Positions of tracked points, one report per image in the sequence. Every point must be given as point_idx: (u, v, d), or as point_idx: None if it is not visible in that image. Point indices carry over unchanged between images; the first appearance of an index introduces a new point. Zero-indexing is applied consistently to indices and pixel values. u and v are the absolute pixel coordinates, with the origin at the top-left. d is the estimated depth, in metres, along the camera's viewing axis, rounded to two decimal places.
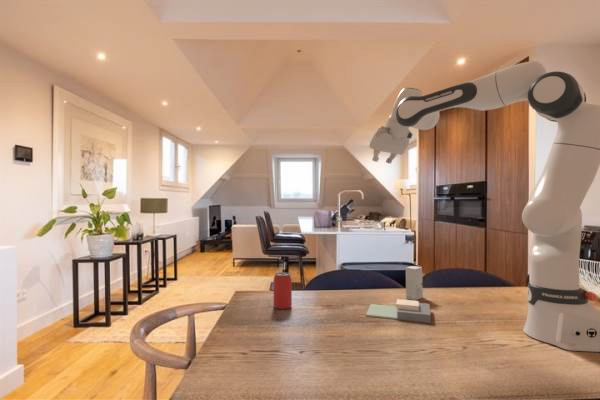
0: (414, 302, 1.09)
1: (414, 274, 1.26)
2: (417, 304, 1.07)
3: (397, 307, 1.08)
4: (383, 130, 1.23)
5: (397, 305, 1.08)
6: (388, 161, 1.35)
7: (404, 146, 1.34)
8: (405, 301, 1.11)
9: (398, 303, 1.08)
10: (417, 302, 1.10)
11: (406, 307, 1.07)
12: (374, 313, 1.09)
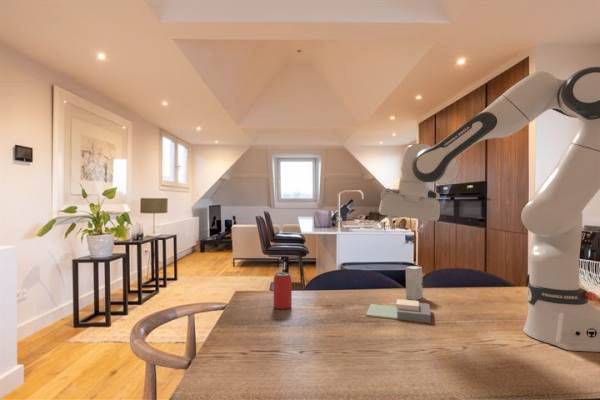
0: (414, 302, 1.09)
1: (414, 274, 1.26)
2: (417, 304, 1.07)
3: (397, 307, 1.08)
4: (388, 192, 1.12)
5: (397, 305, 1.08)
6: (418, 230, 1.12)
7: (434, 209, 1.10)
8: (405, 301, 1.11)
9: (398, 303, 1.08)
10: (417, 302, 1.10)
11: (406, 307, 1.07)
12: (374, 313, 1.09)
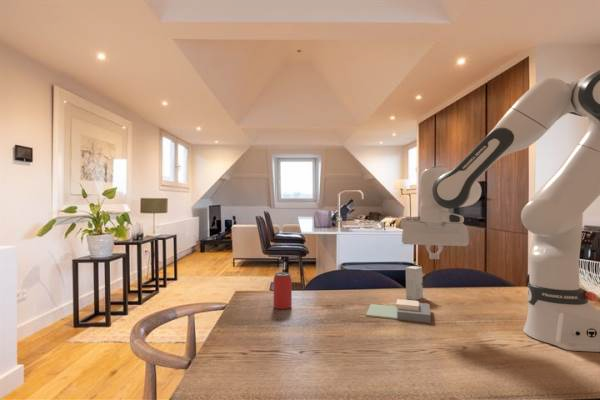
0: (414, 302, 1.09)
1: (414, 274, 1.26)
2: (417, 304, 1.07)
3: (397, 307, 1.08)
4: (408, 220, 1.09)
5: (397, 305, 1.08)
6: (434, 256, 1.07)
7: (461, 234, 1.02)
8: (405, 301, 1.11)
9: (398, 303, 1.08)
10: (417, 302, 1.10)
11: (406, 307, 1.07)
12: (374, 313, 1.09)
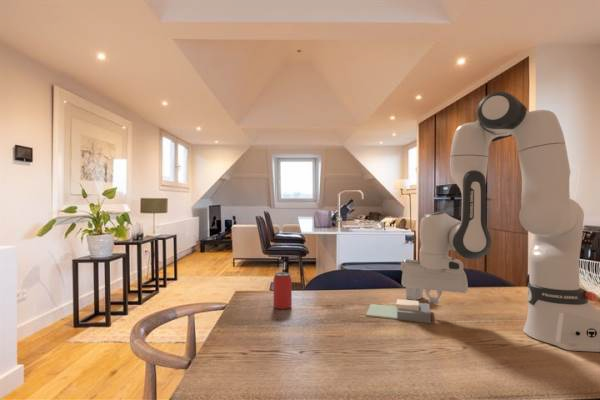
0: (414, 302, 1.09)
1: None
2: (417, 304, 1.07)
3: (397, 307, 1.08)
4: (408, 263, 1.10)
5: (397, 305, 1.08)
6: (433, 301, 1.07)
7: (460, 281, 1.03)
8: (405, 301, 1.11)
9: (398, 303, 1.08)
10: (417, 302, 1.10)
11: (406, 307, 1.07)
12: (374, 313, 1.09)
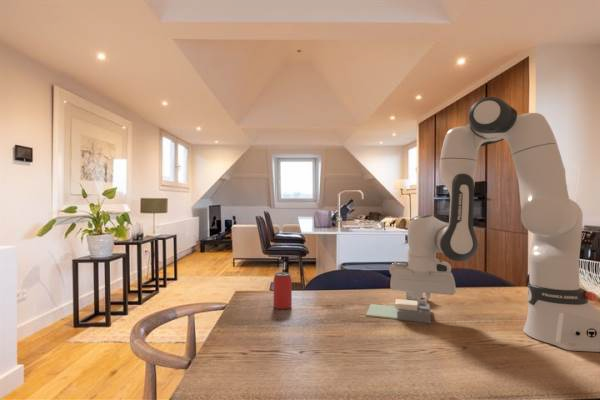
0: (413, 302, 1.10)
1: None
2: (416, 304, 1.07)
3: (396, 307, 1.08)
4: (397, 266, 1.10)
5: (396, 305, 1.08)
6: None
7: (448, 283, 1.04)
8: (404, 301, 1.11)
9: (397, 303, 1.08)
10: (416, 302, 1.10)
11: (405, 307, 1.07)
12: (374, 313, 1.09)
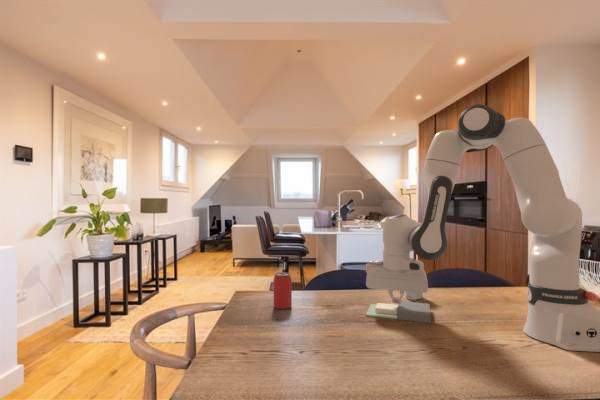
0: (393, 306, 1.12)
1: None
2: (396, 308, 1.10)
3: (376, 311, 1.10)
4: (372, 265, 1.13)
5: (376, 309, 1.10)
6: None
7: (421, 281, 1.06)
8: (385, 305, 1.13)
9: (377, 307, 1.11)
10: (396, 306, 1.12)
11: (385, 311, 1.09)
12: (374, 313, 1.09)
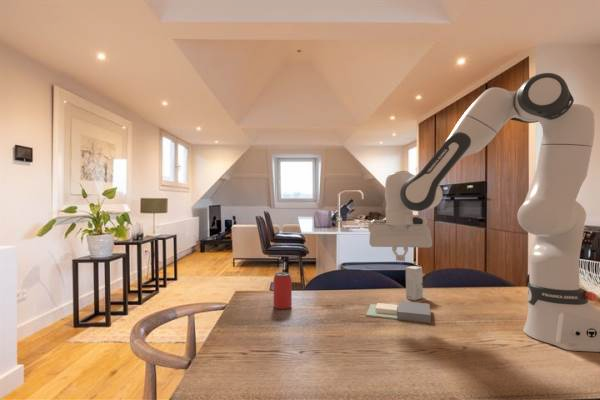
0: (393, 306, 1.12)
1: (414, 274, 1.26)
2: (396, 308, 1.10)
3: (376, 311, 1.10)
4: (375, 223, 1.13)
5: (376, 309, 1.10)
6: (400, 258, 1.10)
7: (425, 235, 1.06)
8: (385, 305, 1.13)
9: (377, 307, 1.11)
10: (396, 306, 1.12)
11: (385, 311, 1.09)
12: (374, 313, 1.09)
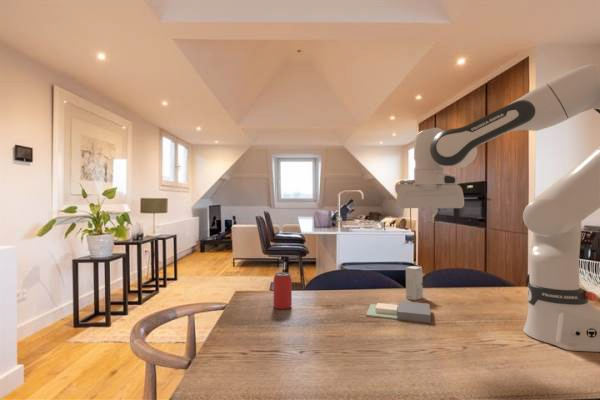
0: (393, 306, 1.12)
1: (414, 274, 1.26)
2: (396, 308, 1.10)
3: (376, 311, 1.10)
4: (403, 184, 1.07)
5: (376, 309, 1.10)
6: None
7: (456, 195, 1.00)
8: (385, 305, 1.13)
9: (377, 307, 1.11)
10: (396, 306, 1.12)
11: (385, 311, 1.09)
12: (374, 313, 1.09)
